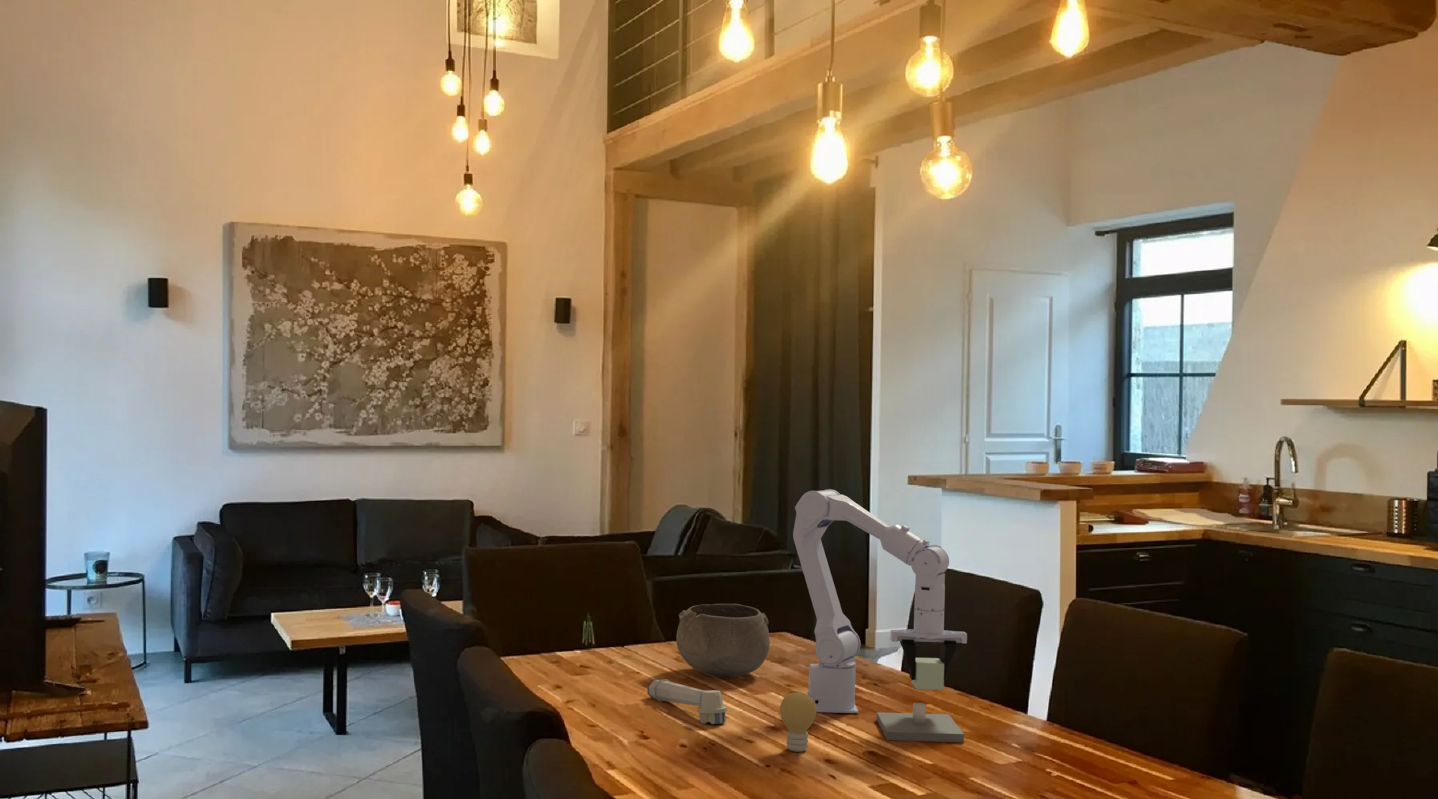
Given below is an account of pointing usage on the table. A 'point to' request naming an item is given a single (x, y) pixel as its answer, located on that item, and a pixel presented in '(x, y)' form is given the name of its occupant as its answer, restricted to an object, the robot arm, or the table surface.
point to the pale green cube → (929, 674)
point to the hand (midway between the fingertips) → (927, 679)
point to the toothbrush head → (690, 699)
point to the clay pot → (723, 639)
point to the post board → (919, 726)
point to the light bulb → (797, 719)
